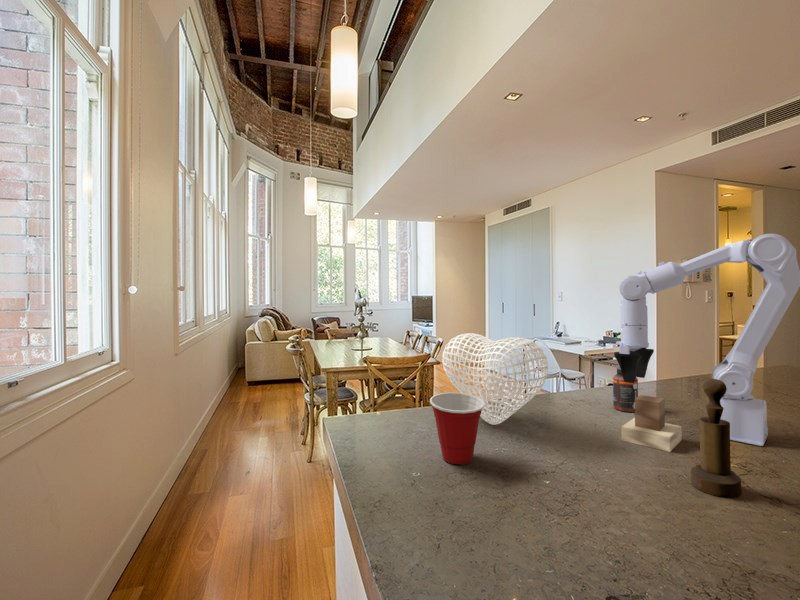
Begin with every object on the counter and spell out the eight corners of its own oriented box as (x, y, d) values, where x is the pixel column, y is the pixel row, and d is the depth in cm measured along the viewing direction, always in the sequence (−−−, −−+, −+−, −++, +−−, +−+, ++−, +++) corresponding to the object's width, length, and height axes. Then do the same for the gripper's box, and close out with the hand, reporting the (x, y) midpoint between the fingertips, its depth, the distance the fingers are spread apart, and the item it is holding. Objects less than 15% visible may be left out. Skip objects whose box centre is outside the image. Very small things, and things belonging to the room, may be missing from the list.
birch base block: (681, 439, 85) (681, 426, 85) (670, 452, 79) (669, 437, 79) (635, 429, 92) (635, 417, 92) (621, 440, 86) (621, 426, 86)
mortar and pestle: (692, 474, 70) (691, 373, 69) (740, 485, 65) (740, 377, 65) (689, 490, 64) (688, 380, 64) (742, 502, 60) (741, 385, 60)
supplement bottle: (643, 412, 105) (642, 370, 104) (620, 413, 105) (620, 370, 105) (630, 406, 111) (630, 366, 110) (609, 406, 111) (608, 366, 110)
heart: (562, 431, 92) (560, 336, 92) (523, 449, 82) (521, 343, 82) (470, 406, 114) (468, 329, 113) (431, 417, 104) (429, 334, 104)
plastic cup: (451, 476, 71) (449, 410, 71) (420, 455, 80) (419, 396, 80) (498, 463, 76) (496, 401, 76) (464, 444, 85) (463, 389, 85)
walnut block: (664, 425, 86) (664, 398, 86) (659, 431, 83) (658, 402, 83) (641, 421, 89) (641, 394, 89) (635, 426, 86) (634, 398, 86)
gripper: (626, 322, 105) (627, 372, 106) (605, 326, 96) (606, 382, 96) (657, 323, 100) (657, 376, 100) (638, 327, 90) (638, 386, 91)
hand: (634, 379), depth 98 cm, fingers open, 7 cm apart
